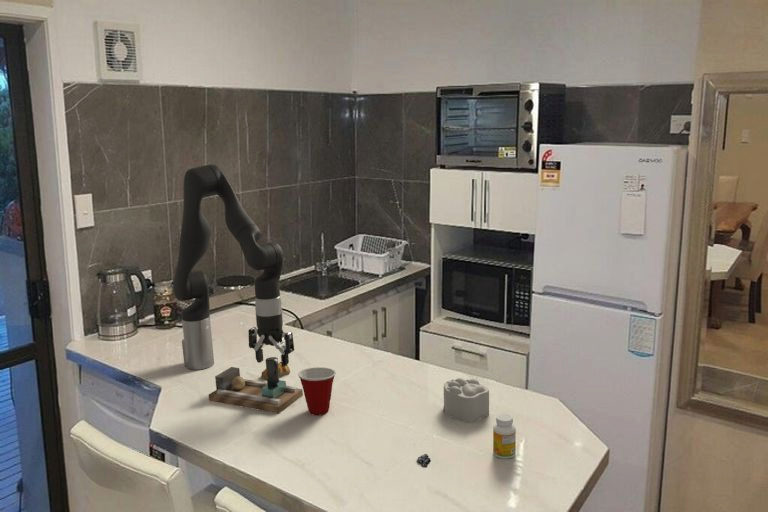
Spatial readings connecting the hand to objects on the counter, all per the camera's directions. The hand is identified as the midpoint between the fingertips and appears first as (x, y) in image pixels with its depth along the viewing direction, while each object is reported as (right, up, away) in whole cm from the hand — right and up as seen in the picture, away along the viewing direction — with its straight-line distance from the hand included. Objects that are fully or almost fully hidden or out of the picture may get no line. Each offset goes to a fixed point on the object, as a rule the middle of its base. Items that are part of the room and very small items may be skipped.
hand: (272, 363), depth 188 cm
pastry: (-3, -8, +23) cm, 24 cm away
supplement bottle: (+63, -17, -32) cm, 72 cm away
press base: (-6, -11, +5) cm, 14 cm away
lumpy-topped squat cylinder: (+56, -12, -8) cm, 58 cm away
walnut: (-12, -7, +7) cm, 15 cm away
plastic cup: (+14, -13, -5) cm, 20 cm away
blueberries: (+43, -19, -34) cm, 58 cm away
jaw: (0, -9, +2) cm, 10 cm away
